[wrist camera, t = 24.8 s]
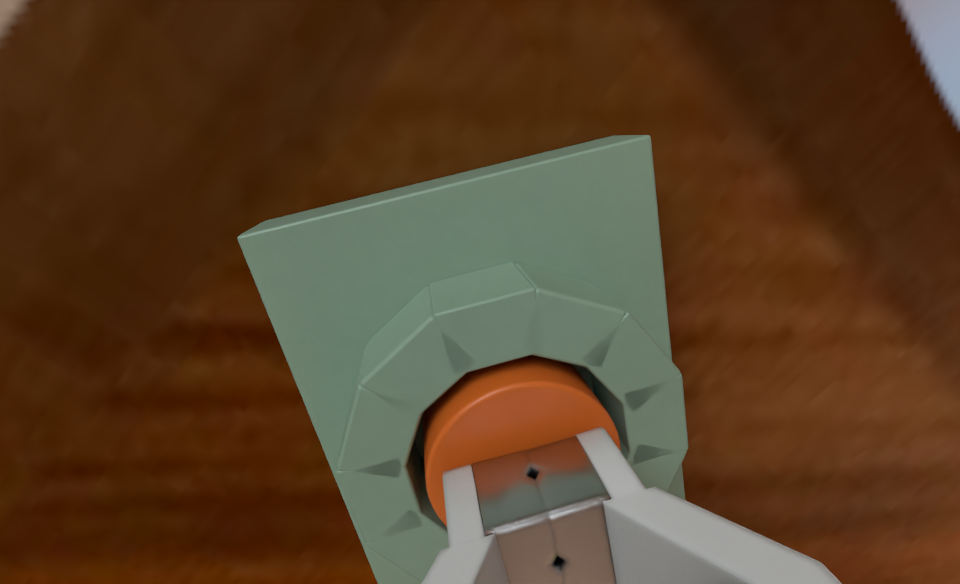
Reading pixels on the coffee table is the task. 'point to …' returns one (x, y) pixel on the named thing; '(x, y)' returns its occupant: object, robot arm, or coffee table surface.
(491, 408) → the button
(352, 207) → the panel
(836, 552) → the coffee table surface
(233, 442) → the coffee table surface
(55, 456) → the coffee table surface
